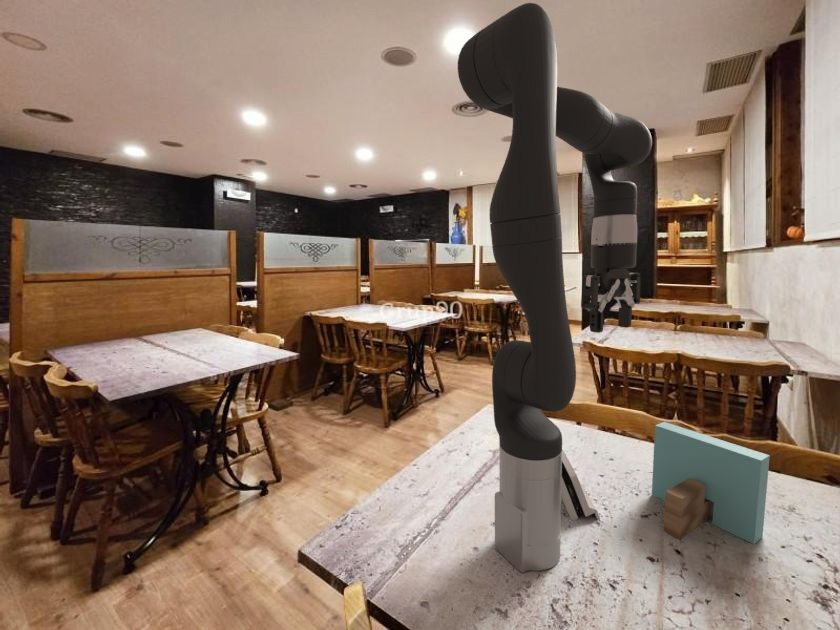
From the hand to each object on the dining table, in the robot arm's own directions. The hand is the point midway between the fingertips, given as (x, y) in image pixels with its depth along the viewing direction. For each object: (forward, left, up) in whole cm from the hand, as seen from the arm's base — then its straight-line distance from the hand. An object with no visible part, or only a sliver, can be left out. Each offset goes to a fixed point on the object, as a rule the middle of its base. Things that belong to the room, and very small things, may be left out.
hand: (610, 329), depth 74 cm
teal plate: (+7, -14, -32) cm, 36 cm away
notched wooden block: (+7, -14, -32) cm, 36 cm away
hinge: (-8, +3, -32) cm, 34 cm away
